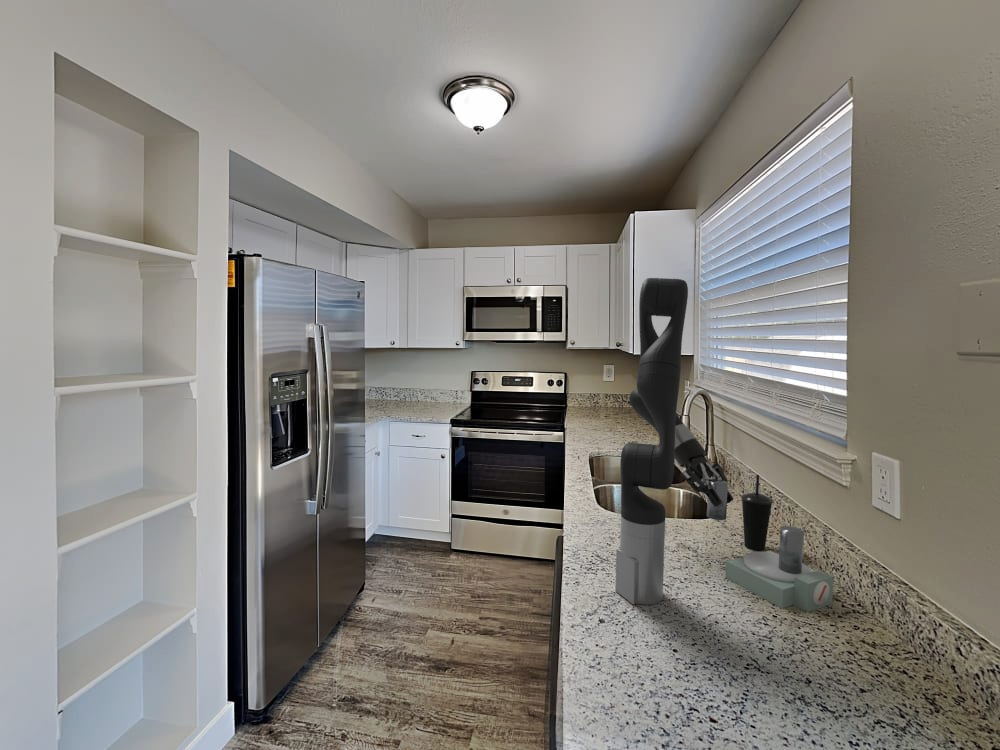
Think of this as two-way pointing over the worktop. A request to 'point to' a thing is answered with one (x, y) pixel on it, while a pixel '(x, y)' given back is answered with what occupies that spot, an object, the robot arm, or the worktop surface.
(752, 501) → the drinking cup
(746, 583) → the kitchen scale
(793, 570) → the steel weight
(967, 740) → the worktop surface
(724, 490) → the steel weight
